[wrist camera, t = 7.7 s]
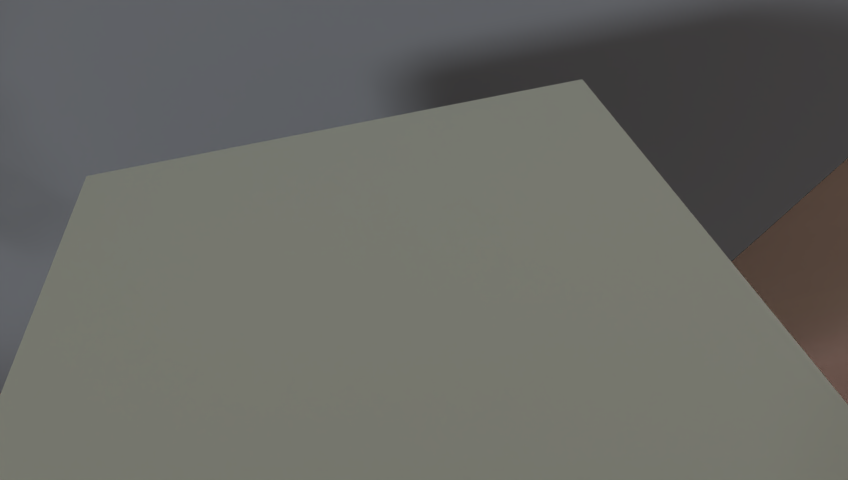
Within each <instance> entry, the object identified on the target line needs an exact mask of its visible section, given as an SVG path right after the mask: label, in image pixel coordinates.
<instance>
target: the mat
mask: <svg viewBox="0 0 848 480" xmlns="http://www.w3.org/2000/svg"><path fill="white" fill-rule="evenodd" d="M580 79H583V81H584V82H585V83H586V84H587V86H588V87H589V88H590V89H591V90H592V92H593V93H594V94H595V95H596V97H597V98H598V99H599V100H600V101H601V103H602V104H603V105H604V106H605V108H606V109H607V110H608V111H609V112H610V114H611V115H612V116H613V117H614V119H615V120H616V121H617V122H618V124H619V125H620V126H621V127H622V128H623V130H624V131H625V132H626V133H627V135H628V136H629V137H630V138H631V139H632V141H633V142H634V143H635V144H636V146H637V147H638V148H639V149H640V150H641V152H642V153H643V154H644V155H645V157H646V158H647V159H648V160H649V162H650V163H651V164H652V165H653V166H654V168H655V169H656V170H657V171H658V173H659V174H660V175H661V176H662V177H663V179H664V180H665V181H666V182H667V184H668V185H669V186H670V187H671V188H672V190H673V191H674V192H675V193H676V195H677V196H678V197H679V198H680V200H681V201H682V202H683V203H684V204H685V206H686V207H687V208H688V209H689V211H690V212H691V213H692V214H693V215H694V217H695V218H696V219H697V220H698V222H699V223H700V224H701V225H702V226H703V228H704V229H705V230H706V231H707V233H708V234H709V235H710V236H711V238H712V239H713V240H714V241H715V242H716V244H717V245H718V246H719V247H720V249H721V250H722V251H723V252H724V253H725V255H726V256H727V257H728V258H729V260H730V261H733V260H734V259H735V258H736V257H737V256H738V255H739V254H740V253H742V252H743V251H744V250H745V249H746V248H747V247H748V246H749V245H751V244H752V243H753V242H754V241H755V240H756V239H757V238H758V237H760V236H761V235H762V234H763V233H764V232H765V231H766V230H767V229H769V228H770V227H771V226H772V225H773V224H774V223H775V222H776V221H777V220H779V219H780V218H781V217H782V216H783V215H784V214H785V213H786V212H788V211H789V210H790V209H791V208H792V207H793V206H794V205H795V204H797V203H798V202H799V201H800V200H801V199H802V198H803V197H804V196H806V195H807V194H808V193H809V192H810V191H811V190H812V189H813V188H815V187H816V186H817V185H818V184H819V183H820V182H821V181H822V180H824V179H825V178H826V177H827V176H828V175H829V174H830V173H831V172H832V171H834V170H835V169H836V168H837V167H838V166H839V165H840V164H841V163H843V162H844V161H845V160H846V159H847V158H848V0H0V393H1V392H2V389H3V386H4V384H5V381H6V379H7V376H8V374H9V371H10V369H11V366H12V364H13V361H14V359H15V356H16V354H17V351H18V348H19V346H20V343H21V341H22V338H23V336H24V333H25V331H26V328H27V326H28V323H29V321H30V318H31V315H32V313H33V310H34V308H35V305H36V303H37V300H38V298H39V295H40V293H41V290H42V288H43V285H44V283H45V280H46V277H47V275H48V272H49V270H50V267H51V265H52V262H53V260H54V257H55V255H56V252H57V250H58V247H59V244H60V242H61V239H62V237H63V234H64V232H65V229H66V227H67V224H68V222H69V219H70V217H71V214H72V212H73V209H74V206H75V204H76V201H77V199H78V196H79V194H80V191H81V189H82V186H83V184H84V181H85V179H86V176H90V175H95V174H100V173H105V172H110V171H115V170H121V169H126V168H131V167H136V166H141V165H146V164H151V163H156V162H161V161H166V160H172V159H177V158H182V157H187V156H192V155H197V154H202V153H207V152H212V151H218V150H223V149H228V148H233V147H238V146H243V145H248V144H253V143H258V142H264V141H269V140H274V139H279V138H284V137H289V136H294V135H299V134H304V133H310V132H315V131H320V130H325V129H330V128H335V127H340V126H345V125H350V124H356V123H361V122H366V121H371V120H376V119H381V118H386V117H391V116H396V115H402V114H407V113H412V112H417V111H422V110H427V109H432V108H437V107H442V106H448V105H453V104H458V103H463V102H468V101H473V100H478V99H483V98H488V97H494V96H499V95H504V94H509V93H514V92H519V91H524V90H529V89H534V88H540V87H545V86H550V85H555V84H560V83H565V82H570V81H575V80H580Z"/></svg>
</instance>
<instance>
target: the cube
mask: <svg viewBox="0 0 848 480" xmlns="http://www.w3.org/2000/svg"><path fill="white" fill-rule="evenodd" d="M0 480H848V404H847V403H846V402H845V401H844V399H843V398H842V397H841V396H840V394H839V393H838V392H837V391H836V390H835V388H834V387H833V386H832V385H831V383H830V382H829V381H828V380H827V379H826V377H825V376H824V375H823V374H822V372H821V371H820V370H819V369H818V367H817V366H816V365H815V364H814V363H813V361H812V360H811V359H810V358H809V356H808V355H807V354H806V353H805V352H804V350H803V349H802V348H801V347H800V345H799V344H798V343H797V342H796V341H795V339H794V338H793V337H792V336H791V334H790V333H789V332H788V331H787V329H786V328H785V327H784V326H783V325H782V323H781V322H780V321H779V320H778V318H777V317H776V316H775V315H774V314H773V312H772V311H771V310H770V309H769V307H768V306H767V305H766V304H765V303H764V301H763V300H762V299H761V298H760V296H759V295H758V294H757V293H756V291H755V290H754V289H753V288H752V287H751V285H750V284H749V283H748V282H747V280H746V279H745V278H744V277H743V276H742V274H741V273H740V272H739V271H738V269H737V268H736V267H735V266H734V265H733V263H732V262H731V261H730V260H729V258H728V257H727V256H726V255H725V253H724V252H723V251H722V250H721V249H720V247H719V246H718V245H717V244H716V242H715V241H714V240H713V239H712V238H711V236H710V235H709V234H708V233H707V231H706V230H705V229H704V228H703V226H702V225H701V224H700V223H699V222H698V220H697V219H696V218H695V217H694V215H693V214H692V213H691V212H690V211H689V209H688V208H687V207H686V206H685V204H684V203H683V202H682V201H681V200H680V198H679V197H678V196H677V195H676V193H675V192H674V191H673V190H672V188H671V187H670V186H669V185H668V184H667V182H666V181H665V180H664V179H663V177H662V176H661V175H660V174H659V173H658V171H657V170H656V169H655V168H654V166H653V165H652V164H651V163H650V162H649V160H648V159H647V158H646V157H645V155H644V154H643V153H642V152H641V150H640V149H639V148H638V147H637V146H636V144H635V143H634V142H633V141H632V139H631V138H630V137H629V136H628V135H627V133H626V132H625V131H624V130H623V128H622V127H621V126H620V125H619V124H618V122H617V121H616V120H615V119H614V117H613V116H612V115H611V114H610V112H609V111H608V110H607V109H606V108H605V106H604V105H603V104H602V103H601V101H600V100H599V99H598V98H597V97H596V95H595V94H594V93H593V92H592V90H591V89H590V88H589V87H588V86H587V84H586V83H585V82H584V81H583V79H580V80H575V81H570V82H565V83H560V84H555V85H550V86H545V87H540V88H534V89H529V90H524V91H519V92H514V93H509V94H504V95H499V96H494V97H488V98H483V99H478V100H473V101H468V102H463V103H458V104H453V105H448V106H442V107H437V108H432V109H427V110H422V111H417V112H412V113H407V114H402V115H396V116H391V117H386V118H381V119H376V120H371V121H366V122H361V123H356V124H350V125H345V126H340V127H335V128H330V129H325V130H320V131H315V132H310V133H304V134H299V135H294V136H289V137H284V138H279V139H274V140H269V141H264V142H258V143H253V144H248V145H243V146H238V147H233V148H228V149H223V150H218V151H212V152H207V153H202V154H197V155H192V156H187V157H182V158H177V159H172V160H166V161H161V162H156V163H151V164H146V165H141V166H136V167H131V168H126V169H121V170H115V171H110V172H105V173H100V174H95V175H90V176H86V179H85V181H84V184H83V186H82V189H81V191H80V194H79V196H78V199H77V201H76V204H75V206H74V209H73V212H72V214H71V217H70V219H69V222H68V224H67V227H66V229H65V232H64V234H63V237H62V239H61V242H60V244H59V247H58V250H57V252H56V255H55V257H54V260H53V262H52V265H51V267H50V270H49V272H48V275H47V277H46V280H45V283H44V285H43V288H42V290H41V293H40V295H39V298H38V300H37V303H36V305H35V308H34V310H33V313H32V315H31V318H30V321H29V323H28V326H27V328H26V331H25V333H24V336H23V338H22V341H21V343H20V346H19V348H18V351H17V354H16V356H15V359H14V361H13V364H12V366H11V369H10V371H9V374H8V376H7V379H6V381H5V384H4V386H3V389H2V392H1V394H0Z"/></svg>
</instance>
